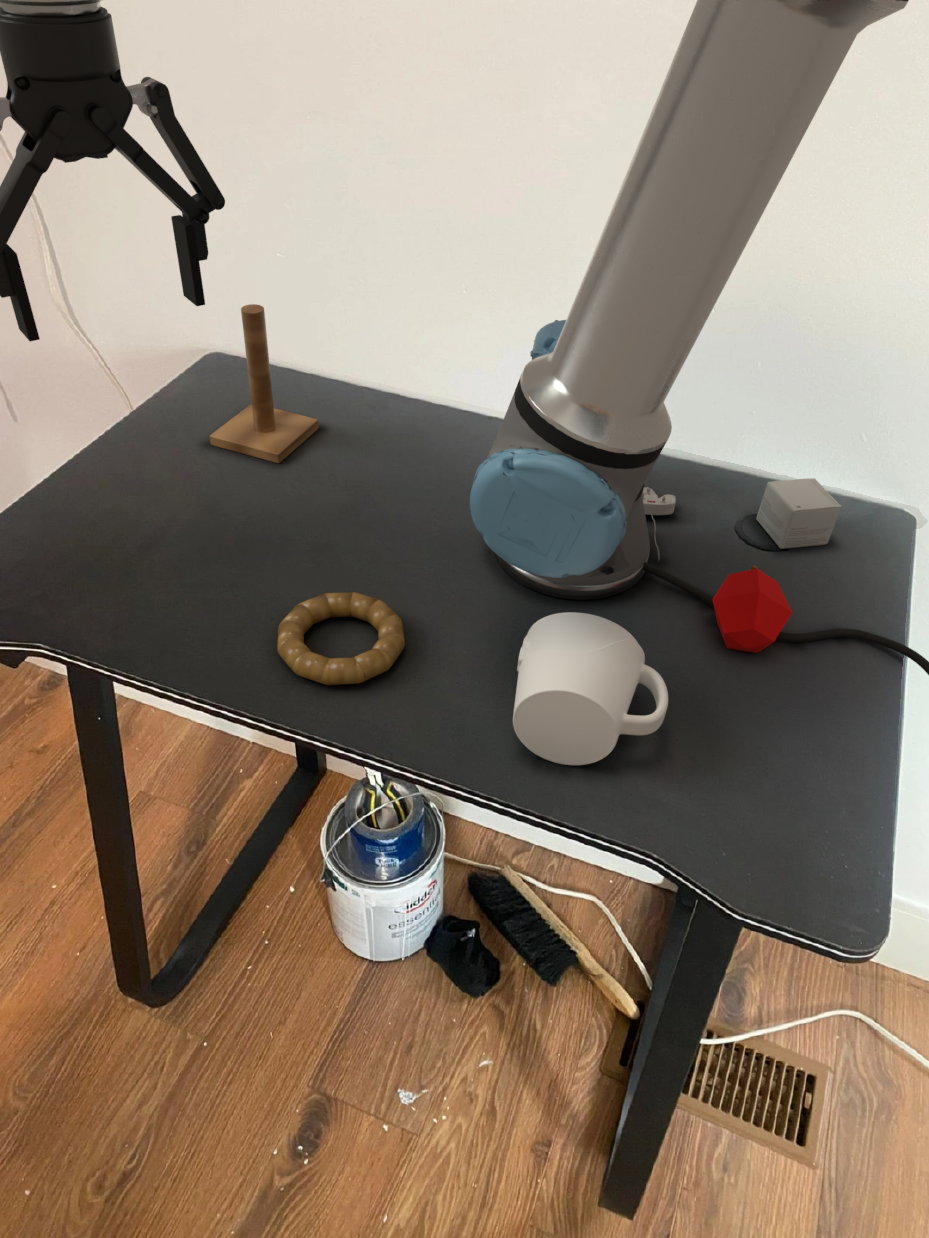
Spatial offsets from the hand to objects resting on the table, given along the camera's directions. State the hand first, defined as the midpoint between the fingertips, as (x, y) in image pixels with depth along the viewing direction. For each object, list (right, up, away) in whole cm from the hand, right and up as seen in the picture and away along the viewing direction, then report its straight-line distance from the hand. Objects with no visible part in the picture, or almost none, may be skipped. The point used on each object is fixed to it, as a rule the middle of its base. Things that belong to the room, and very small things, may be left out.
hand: (115, 317), depth 75 cm
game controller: (+48, -15, +22) cm, 54 cm away
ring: (+18, -26, +5) cm, 32 cm away
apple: (+54, -26, +9) cm, 60 cm away
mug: (+38, -33, 0) cm, 51 cm away
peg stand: (+5, -3, +32) cm, 32 cm away
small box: (+63, -16, +22) cm, 68 cm away
